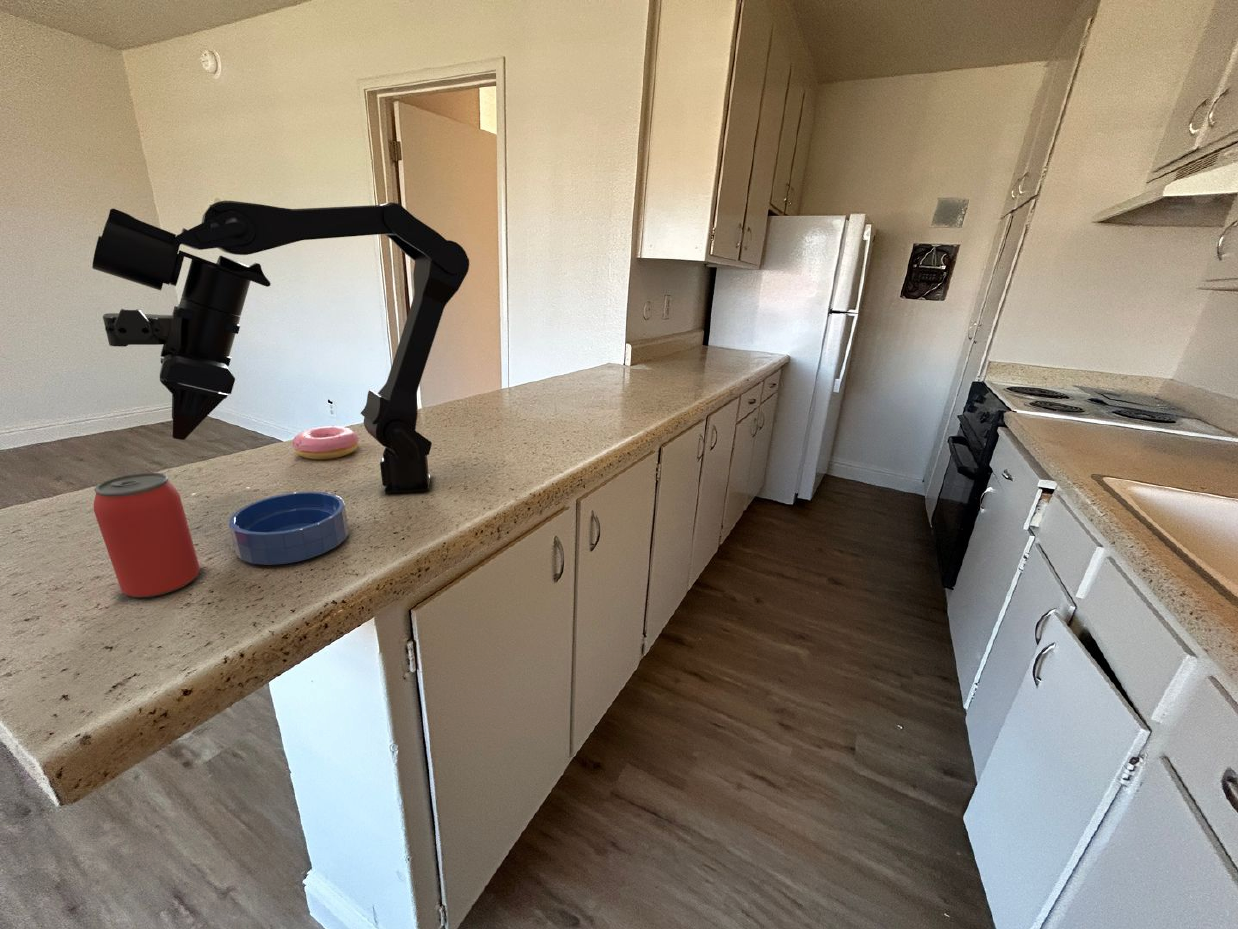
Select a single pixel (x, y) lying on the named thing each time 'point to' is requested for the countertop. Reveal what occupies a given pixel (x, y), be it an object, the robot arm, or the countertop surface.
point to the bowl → (289, 527)
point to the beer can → (146, 534)
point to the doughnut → (325, 442)
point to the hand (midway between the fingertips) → (177, 429)
